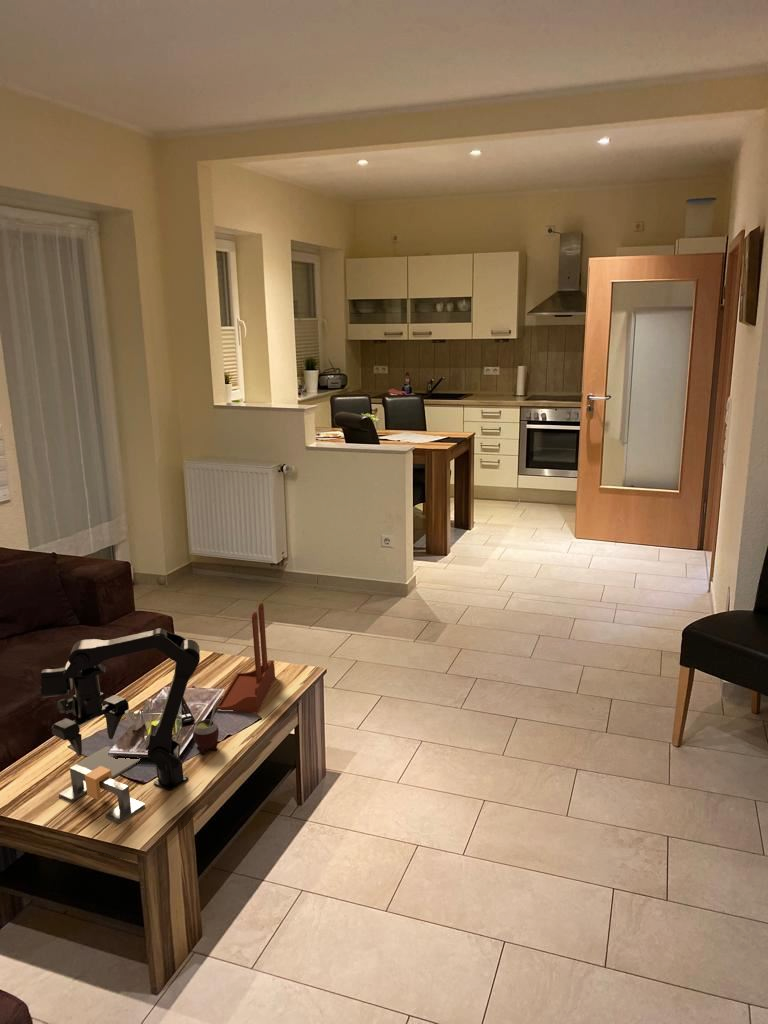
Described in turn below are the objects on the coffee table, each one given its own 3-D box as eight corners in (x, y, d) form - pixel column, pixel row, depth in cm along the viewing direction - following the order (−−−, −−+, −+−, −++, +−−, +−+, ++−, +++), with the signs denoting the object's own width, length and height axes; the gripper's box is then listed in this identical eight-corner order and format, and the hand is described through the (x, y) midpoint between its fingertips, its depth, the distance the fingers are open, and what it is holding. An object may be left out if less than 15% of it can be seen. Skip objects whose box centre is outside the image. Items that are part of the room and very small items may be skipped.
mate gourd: (190, 754, 216) (185, 705, 213) (203, 740, 224) (199, 692, 220) (214, 757, 214) (209, 708, 211) (227, 743, 222) (223, 695, 218)
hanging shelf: (237, 677, 264) (231, 594, 257) (275, 678, 263) (269, 594, 255) (216, 711, 240) (208, 621, 233) (257, 712, 239) (250, 622, 232)
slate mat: (141, 760, 214) (140, 759, 214) (105, 782, 204) (105, 780, 204) (107, 747, 221) (107, 745, 221) (71, 768, 211) (71, 766, 211)
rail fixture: (145, 806, 193) (142, 781, 192) (119, 824, 187) (116, 798, 185) (85, 780, 205) (82, 757, 204) (59, 796, 199) (55, 772, 197)
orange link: (113, 790, 196) (111, 770, 195) (97, 799, 192) (95, 779, 191) (103, 785, 198) (100, 765, 197) (87, 795, 194) (84, 775, 193)
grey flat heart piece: (140, 723, 234) (137, 699, 232) (145, 724, 234) (142, 700, 232) (125, 735, 228) (122, 710, 226) (130, 736, 227) (127, 711, 225)
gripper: (99, 669, 205) (106, 723, 208) (34, 698, 190) (43, 755, 194) (126, 679, 199) (133, 734, 202) (61, 709, 184) (70, 768, 187)
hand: (95, 747), depth 197 cm, fingers open, 9 cm apart
